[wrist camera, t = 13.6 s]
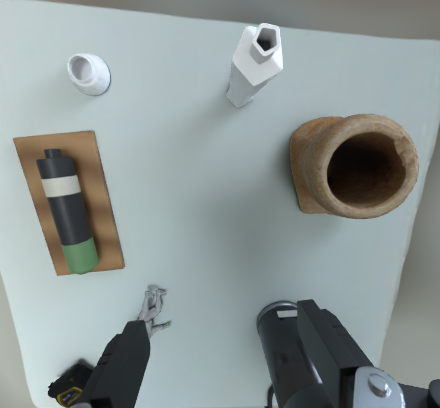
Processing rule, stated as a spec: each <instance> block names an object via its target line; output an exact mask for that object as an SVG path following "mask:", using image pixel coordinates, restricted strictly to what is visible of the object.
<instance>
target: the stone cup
mask: <svg viewBox="0 0 440 408" xmlns="http://www.w3.org/2000/svg"><path fill="white" fill-rule="evenodd" d="M290 163H291V169H292V174H293V178H294V183H295V187H296V191H297V195H298V200H299V205H300V208H301V211H302V212H303V213H308V214H312V213H328V214H330V215H336V216H341V217H346V218H353V219H369V218H375V217H379V216H382V215H384V214H387V213H388V212H390V211H392V210H393V209H395V208H397V207H398V206H399V205H400V204H401V203H403V202H404V200H405V199H406V198H407V196H408V195H409V194H410V192H411V191H412V189H413V188H414V185H415V183H416V181H417V177H418V170H419V163H418V156H417V152H416V149H415V146H414V143H413V141H412V139H411V138H410V136H409V134H408V133H407V132H406V131H405V130H404V129H403V128H402V127H401V126H400V125H399V124H398V123H396V122H395V121H394V120H391V119H389V118H387V117H385V116H380V115H375V114H358V115H352V116H348V117H345V118H343V117H333V116H331V117H322V118H318V119H315V120H312V121H309V122H307V123H305V124H303V125H302V126H301V127H300V128H299V129H297V130H296V131H295V132H294V133H293V134H292V137H291V141H290Z"/></svg>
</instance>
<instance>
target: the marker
mask: <svg viewBox="0 0 440 408" xmlns="http://www.w3.org/2000/svg"><path fill="white" fill-rule="evenodd" d="M44 154H45V157H46V159H37V160H36V164H37V167H38V170H39V174H40V177H41V181H42V184H43V188H44V191H45V194H46V197H47V200H48V203H49V207H50V210H51V213H52V216H53V220H54V223H55V226H56V230H57V233H58V236H59V239H60V243H61V246H62V249H63V253H64V256H65V259H66V262H67V266H68V269H69V272H70V273H72V274H85V273H88V272H90V271H92V270H93V269H94V268H95V267H96V266H97V265H98V264H99V259H98V255H97V251H96V247H95V243H94V240H93V236H92V232H91V228H90V224H89V220H88V217H87V213H86V209H85V205H84V201H83V197H82V193H81V189H80V185H79V181H78V177H77V174H76V170H75V167H74V163H73V159H72V157H62V154H61V150H60V149H44Z"/></svg>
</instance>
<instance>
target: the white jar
mask: <svg viewBox="0 0 440 408" xmlns="http://www.w3.org/2000/svg"><path fill="white" fill-rule="evenodd" d="M67 69H68V72H69V75H70V77H71V79H72V82H73V84H74V85H75V86H76V87H77V88H78V90H80V91H81V92H83V93H85V94H87V95H92V96H96V95H100V94H102V93H103V92H104V91H106V90H107V88H108V86H109V83H110V73H109V70H108V67H107V65H106V64H105V63H104V62H103V60H102V59H101V58H99V57H98V56H96V55H94V54H91V53H86V52H85V53H80V54H75V55H72V56H71V57H70V58H69V60H68V62H67Z"/></svg>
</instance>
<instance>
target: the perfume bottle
mask: <svg viewBox="0 0 440 408" xmlns="http://www.w3.org/2000/svg"><path fill="white" fill-rule="evenodd" d="M282 70H283V61H282V49H281V38H280V31H279V27H278V26H276V25H271V24H266V23H261V24H260V25H259V26H258V28H256V27H251V26H247V27H246V28H245V30H244V33H243V35H242V37H241V39H240V41H239V44H238V46H237V48H236V50H235V53H234V55H233V57H232V64H231V80H230V87H229V89H228V91H227V94H226V97H227V98H228V99H229V100H230V101H231V102H232V103H233V104H234V105H235V107H236V108H240V107H242V106H244V105H245V104H247V103H249V102H251V101H252V100H253V97H252V96H253V95H254V94H255V93H256V92H258V91H259V90H260V89H261V88H262V87H263V86H265V85H266V84H267V83H268V82H269V81H270V80H272V79H273V78H274V77H275V76H276V75H277V74H279V73H280V72H281V71H282Z"/></svg>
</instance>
